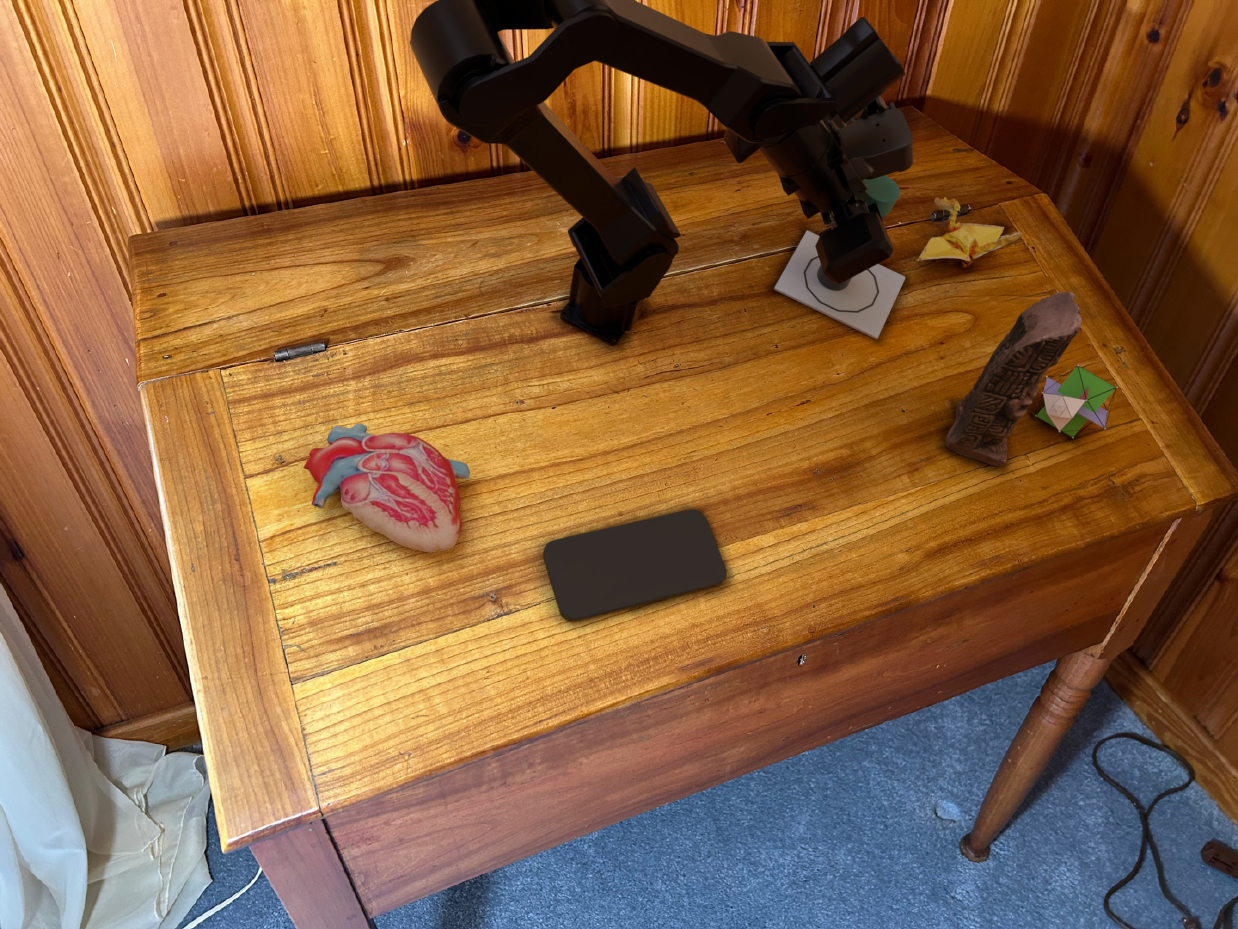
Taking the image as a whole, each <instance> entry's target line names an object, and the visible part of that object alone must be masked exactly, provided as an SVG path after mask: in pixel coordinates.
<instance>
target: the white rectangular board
mask: <svg viewBox="0 0 1238 929" xmlns="http://www.w3.org/2000/svg"><path fill="white" fill-rule="evenodd" d="M818 239H819V234H816V233H814V232H812V231H810V230H806V231H805V234H803V237H802V238H801V239H800V242H799V243H798V246H797V247H796V249H795V250H794V252H793V254H792V256H791V258H790V259H789V261H788V263H787V264H786V266H785V268H784V270H783V271H782V274H781V275H780V277H779V278H778V280H777V282H776V284H775V286H774V288H773V290H774V291H775V292H777V293H780V294H781V295H784V296H786V297H788V298H790V299H792V300H794V301H796V302H798V303H801V304H803V305H804V306H806V307H809V308H810V309H813V310H815V311H817V312H819V313H821V314H823V315H825V316H827V317H828V318H831V319H834V320H836V321H838V322H839V323H841V324H844V325H846V326H848V327H850V328H852V329H854V330H856V331H858V332H860V333H862V334H865V335H867V336H868V337H871V338H873V339H874V340H878V338H879V337H880V334H881V332H882V330H883V328H884V326H885V324H886V321H887V319H888V317H889V315H890V312H891V310H892V308H893V306H894V304H895V302H896V300H897V297H898V295H899V293H900V291H901V288H902V286H903V284H904V282H905V280H906V276H905V275H902V274H900V273H898V272H896V271H894V270H891V269H890V268H887V267H885V266H884V265H881V264H880V263H879V264H877V265H875V266H873V267H871V268H869V269H867V270H866V271H864V272H862V273H860V274H858V275H856V276H854V277H852V279H851V281H850V282H849V284H848V286H847V287H846V288H845V289H843V290H839V291H835V290H830V289H828V288H826V287H824V286H823V285H822V284H821V283H820V282H819V280H818V278H817V271H818V269H819V267H820V265H821V263H820V260H819V257H818V254H817V250H816V247H815V245H816V243H817V241H818Z"/></svg>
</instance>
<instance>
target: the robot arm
mask: <svg viewBox="0 0 1238 929" xmlns="http://www.w3.org/2000/svg"><path fill="white" fill-rule="evenodd" d="M868 20H869V19H867V18H866V16H861V17H860V18H858V19H857V20H856V21H854V22H853V23H852V24H851V25H850V26H849V27H848V28H847V29H846V30H845V32H843V34H842V35H840V37H838V38H837V39H836V40H834V41H833V43H831V44H829V46H828V47H826V48H825V49H824V50H823V51H822V52H820V53H819V54H818V55H817V56H816V57H815V58H813V59H812V60H811V61H809V60H808V58H807V57H806V56H805V55H804V53H803V52H802V50H801V48H800V47H798V45H797V43H796V42H794V41H765V40H764V39H763V38H762V37H759V36H755V35H751V34H746V33H742V32H737V31H732V30H728V31H725V32H721V33H719V34H717V35H715V34H709V33H706V32H703V31H701V30H699V29H697V28H695V27H693V26H690V25H688V24H686V23H684V22H682V21H679V20H677V19H675V18H673V17H671V16H669V15H666V14H665V13H662V12H661V11H658V10H656V9H654V8H652V7H650V6H648V5H646V4H644V3H641V2H639V1H637V0H435V1H433V3H431V4H429V5H428V6H426V7H425V8H424V9H423V10H422V11H421V12H420V13H419V15H417V17H416V18H415V20H414V22H413V25H412V27H411V29H410V40H409V45H410V48H411V51H412V54H413V56H414V58H415V60H416V62H417V64H418V67H419V68H420V70H421V72H422V75H423V77H424V79H425V81H426V84H427V86H428V89H429V90H430V92H431V95H432V97H433V98H434V101H435V103H436V106H437V108H438V110H439V112H440V114H441V115H442V117H443V118H444V120H445V121H446V122H447V123H448V124H450V125H451V126H452V127H454V128H456V129H457V130H459V131H461V132H463V133H465V134H466V135H468V136H469V137H471V138H473V139H475V140H477V141H478V142H480V143H482V144H487V145H488V144H489V145H490V144H492V145H503V146H504V147H507V148H508V149H509V150H510V151H511V152H512V153H513V154H514V155H515V156H516V157H517V158H518V159H519V160H521V161H522V162H523V163H524V164H525V165H526V166H527V167H528V168H530V169H531V170H532V172H534V173H535V174H536V175H537V176H538V177H539V178H540V179H541V180H542V181H544V183H546V184H547V185H548V186H549V187H550V188H551V189H552V190H553V191H554V192H555V193H557V195H558V196H559V197H561V198H562V199H563V200H564V201H565V202H566V203H567V204H568V205H569V206H570V207H571V208H573V209H574V211H575V212H577V213H578V214H579V215H580V216H581V218H580V219H579V220H578V221H577V222H576V223H574V224H573V225H572V226H571V227H569V229H568V230H567V234H568V237H569V240H570V242H571V245H572V246H573V248H574V249H575V250H576V252H577V254H578V256H579V258H578V259H577V261H576V262H575V264H574V265H573V270H572V275H571V283H570V289H569V296H568V300H567V302H566V304H565V306H564V307H563V308H562V310H561V311H560V313H559V318H560V320H561V321H563V322H565V323H567V324H569V325H571V326H573V327H575V328H577V329H579V330H581V331H582V332H584V333H587V334H589V335H590V336H592V337H595V338H596V339H599V340H601V341H602V342H605V343H607V344H609V345H611V346H617V345H618V344H619V343H620V341H621V340H622V338H623V337H624V335H625V334H626V333H628V332H631V331H632V329H633V328H634V327H635V325H636V323H637V322H638V321H639V319H640V318H641V316H642V312H643V308H644V305H645V300H647V299H649V298H650V297H651V296H652V295H653V293H654V291H655V290H656V289H657V287H658V286H659V284H660V282H662V280H663V279H664V277H665V275H666V274H667V272H668V271H669V270H670V268H671V267H672V264H673V260H674V258H675V257H676V255H678V254H679V252H680V246H679V243H678V242H677V239H678V238H681V236H682V234H681V233H680V230H679V229H678V226H676V224H675V222H674V220H673V219H672V216H671V215H670V214H669V211H668V210H667V208H666V207H665V205H664V203H663V201H662V200H661V197H660V196H659V193H657V190H656V189H655V187H654V185H653V184H652V183H651V182H647V181H645V180H643V178H642V176H641V174H640V173H639V171H638V169H637V167H636V166H634V167H632V168H631V170H629V171H628V172H627V174H625V175H624V176H615V175H613V174H612V173H611V172H610V171H609V170H608V169H607V167H606V166H605V165H604V164H603V163H602V162H601V161H600V160H599V159H598V158H597V157H596V156H595V155H594V154H593V153H592V152H591V150H589V148H588V147H587V146H586V145H585V144H584V143H583V141H581V140H580V139H579V138H578V136H576V134H575V133H574V132H573V131H572V130H571V129H570V128H569V127H568V126H567V125H566V124H565V123H564V121H563V120H562V119H561V118H560V117H559V116H558V115H557V114H556V113H555V112H554V111H553V110H552V108H550V107H549V105H547V103H546V101H547V100H548V99H549V98H550V97H551V95H552V94H554V92H555V91H556V90H557V89H558V88H559V87H560V86H561V84H562V85H563V83H564V82H565V81H566V80H567V79H568V77H569V76H570V75H571V74H572V73H573V72H574V71H575V70H577V69H579V68H581V67H584V66H586V65H589V64H591V63H593V62H596V63H598V64H600V65H601V64H602V65H604V66H607V67H608V68H609V67H610V68H612V69H614V70H617V71H619V72H622V73H625V74H628V75H630V76H632V77H634V78H637V79H640V80H642V81H645V82H647V83H650V84H653V85H655V86H657V87H660V88H663V89H665V90H668V91H670V92H673V93H675V94H678V95H680V96H683V97H686V98H687V99H691V100H693V101H696V102H697V103H699V104H700V105H701V106H703V107H704V108H705V109H706V110H707V111H708V112H709V113H710V114H711V115H712V116H713V117H714V118H715V119H716V120H717V121H718V122H719V123H720V124H721V125H722V126H723V127H725V128H726V130H725V132H724V135H723V142H724V143H725V144H726V146H727V148H728V150H729V152H730V153H731V154H732V157H733V158H734V160H735V161H736V163H738V164H742V163H744V162H745V161H746V160H748V159H749V158H750V157H752V156H753V155H754V154H755V153H756V152H757V151H758V152H759V153H760V154H761V156H762V157H763V158H764V159H765V160H766V161H767V162H768V164H769V165H770V166H771V167H772V168H773V170H774V171H775V173H777V174H778V177H779V181H780V184H781V188H782V189H783V192H784V193H785V194H786V195H787V196H788V197H789V196H792V195H793V194H794V195H795V196H796V197H797V198H798V201H799V205H800V207H801V211H802V214H803V215H804V217H805V218H807V220H808V219H811V218H813V217H814V216H816V215H818V214H819V213H820V216H821V220H822V222H823V225H824V226H825V227H826V229H824V230H823V231H821V232H819V233H818V236H819V239H818V241H817V243H816V245H815V247H816V250H817V254H818V257H819V260H820V263H821V266H822V269H823V272H824V274H825V275H826V276H827V278H828V279H829V280H830V281H831V282H832V283H836V284H841V283H843V282H845V281H847V280H848V279H850V278H852V277H854V276H856V275H858V274H860V273H862V272H864V271H866V270H867V269H869V268H871V267H873V266H875V265H877V264H879V265H880V263H883V262H885V261H887V260H888V259H890V258H891V256H892V255H893V252H894V251H895V250H894V247H893V244H892V241H891V239H890V236H889V233H888V231H887V228H886V226H885V224H884V222H883V220H882V217H881V214H880V212H879V209H878V206H877V204H876V202H874V203H873V204H871V205H869V206H867V204H866V202H865V201H864V200H863V199H856V196H857V195H859V194H860V193H862V192H864V191H866V190H867V186H866V183H865V181H864V179H867V180H871V179H875V178H878V177H881V176H888V175H891V174H894V173H903V172H905V171H908V170H909V169H911V168H912V166H913V164H914V149H913V147H914V145H913V144H914V143H913V142H914V141H913V133H912V131H911V128H910V127H909V124H908V122H907V119H906V117H905V114H904V112H903V111H902V110H901V109H899V108H896V105H895V103H894V102H889V103H888V105H887V104H886V102H885V100H884V99H883V97H882V95H883V94H884V93H886V91H888V90H889V89H891V87H893V86H894V85H895V84H896V83H897V82H898V81H900V80H901V79H903V78H904V77H905V76H906V72H905V69H904V68H903V66H902V64H901V63H900V62H899V60H898V59H897V57H896V56H895V55H894V54H893V53H892V51H891V50H890V49H889V47H888V46H887V45H886V44H885V42H884V41H883V40H882V38H881V37H880V35H879V34H878V31H876V29H875V28H874V26H873V25H872V24H871V23H870V22H869V21H868ZM550 29H553V31H552V32H550V33H549V35H548V36H547V37H546V38H545V39H544V40H543V41H542V42H541V43H540V44H539V45H538V46H537V47H536V48H535V50H533V51H532V53H531V54H529V55H528V56H527V57H524V58H522V59H520V60H517V61H515V59H514V57H513V56H512V54H511V52H510V50H509V49H508V47H507V45H506V43H505V42H504V40H503V38H502V37H501V35H500V32H501V31H512V30H513V31H514V30H515V31H517V30H518V31H519V30H523V31H524V30H525V31H527V30H550Z"/></svg>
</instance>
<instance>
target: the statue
mask: <svg viewBox="0 0 1238 929" xmlns="http://www.w3.org/2000/svg"><path fill="white" fill-rule="evenodd" d="M1075 300H1076V295H1075V293H1073V292H1071V291H1060V292H1059V291H1058V292H1055V293H1054V294H1052V295H1050V296H1047V297H1042V298H1041V299H1040V300H1039V301H1038V302H1034V303H1033V304H1032V305H1030V306H1029V307H1027V308H1026V309H1025V310H1023V311H1022V312H1021V313H1019V315H1018V317H1017V319H1016V321H1015V323H1014V324H1013V326H1012V328H1011V329H1010V330H1009V332H1007V333H1006V334H1005V335H1004V337H1003V339H1001V341H1000V343H999V344H998V345H997V347H996V348H995V349H994V350H993V352H992V354H991V356H990V357H989V359H988V361H987V362H986V364H985V366H984V368H983V370H982V372H981V374H980V375H979V376H978V378H977V380H976V381H975V383H974V384H973V387H972V389H971V390H969V391H968V393H967V394H966V395H964V398H963V399H961V400H959V401H957V404H956V409H955V412H954V413H955V421H954V423H953V424H952V426H951V427H950V429H949V431H948V432H947V434H946V436H945V437H944V440H945V447H946V448H947V449H949V450H950V451H952V452H954V453H956V454H958V455H961V456H964V457H966V458H969V459H973V460H977V461H979V462H983V463H984V464H988V465H990V466H993V467H1003V466H1005V464H1006V462H1007V459H1008V437H1010V436H1011V434H1012V433H1013V430H1014V429H1015V427H1016V425H1017V423H1018V421H1019V420H1020V419H1022V418H1023V417H1024V416H1025V415H1026V414H1027V410H1028V407H1029V406H1031V405H1032V404H1033V400H1034V398H1035V397H1036V396H1037V394H1038V392H1039V391H1040V385H1039V383H1041V380H1042V379H1043V378H1044V373H1045V374H1046V373H1047V372H1048V371H1049V369H1050V368H1052V367H1054V366H1056V365H1057V364H1058V363H1059V361H1060V359H1061V358H1062V356H1063V355H1064V354H1065V352H1066V350H1067V348H1068V347H1069V346H1070V344H1071V343H1072V341H1073V339H1074V338H1075V337H1077V335H1078V333H1079V332H1080V330H1081V329H1082V328H1081V326H1082V322H1083V318H1082V317H1081V315H1080V314H1081V309H1080V307H1079V306H1078V304H1077V303H1076V302H1075Z"/></svg>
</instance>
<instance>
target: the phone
mask: <svg viewBox="0 0 1238 929" xmlns="http://www.w3.org/2000/svg"><path fill="white" fill-rule="evenodd" d="M542 557H543V562H544V565H545V569H546V573H547V575H548V578H549V582H550V585H551V589H552V593H553V596H554V598H555V601H556V605H557V608H558V611H559V613H560V615H561V617H562V618H563V619H565V620H566V621H569V622H579V621H583V620H588V619H591V618H595V617H599V616H603V615H607V614H610V613H615V612H619V611H623V610H627V609H631V608H632V609H633V608H635V607H640V606H643V605H647V604H651V603H655V602H659V601H664V600H666V599H671V598H676V597H679V596H683V595H687V594H690V593H695V592H699V591H703V590H707V589H711V588H714V587H718V586H719V585H721V584H722V583H724V581H725V579H726V578H727V575H728V574H727V572H728V571H727V567H726V564H725V561H724V560H723V556H722V554H721V552H720V550H719V546H718V544H717V542H716V540H715V536H714V534H713V532H712V529H711V526H710V524H709V522H708V519H707V517H706V516H705V514H704V513H703V512H702V511H700V510H698V509H695V508H694V509H692V508H691V509H686V510H680V511H676V512H672V513H667V514H664V515H663V514H662V515H658V516H653V517H650V518H645V519H641V520H637V521H632V522H627V523H623V524H618V525H614V526H609V527H605V528H601V529H600V528H599V529H597V530H596V529H595V530H592V531H588V532H583V533H578V534H574V535H570V536H564V537H561V538H560V537H559V538H556V539H553V540H550V541H549V542H547V543H546V544H545V545H544V547H543V552H542Z"/></svg>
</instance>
